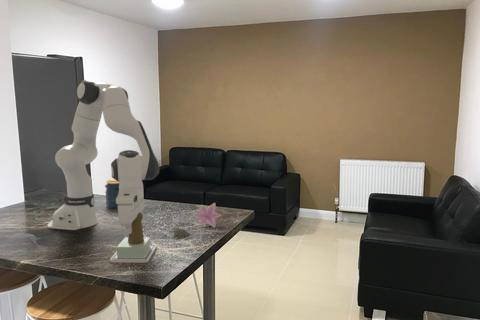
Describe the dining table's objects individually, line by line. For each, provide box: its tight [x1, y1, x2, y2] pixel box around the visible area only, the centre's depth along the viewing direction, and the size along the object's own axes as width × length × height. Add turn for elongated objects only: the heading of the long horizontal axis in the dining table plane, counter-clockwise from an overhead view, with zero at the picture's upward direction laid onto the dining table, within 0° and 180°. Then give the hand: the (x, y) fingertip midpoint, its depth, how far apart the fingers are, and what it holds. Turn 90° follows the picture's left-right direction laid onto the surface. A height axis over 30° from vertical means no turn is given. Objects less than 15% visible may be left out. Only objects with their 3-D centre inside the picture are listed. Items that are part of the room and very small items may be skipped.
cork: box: [128, 212, 145, 243], centre depth 151 cm, size 6×6×11 cm
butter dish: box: [109, 236, 158, 264], centre depth 151 cm, size 14×14×5 cm
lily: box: [192, 202, 222, 228], centre depth 186 cm, size 12×12×10 cm
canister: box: [104, 177, 120, 210], centre depth 217 cm, size 13×13×18 cm
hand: (133, 228), depth 149 cm, fingers open, 8 cm apart
